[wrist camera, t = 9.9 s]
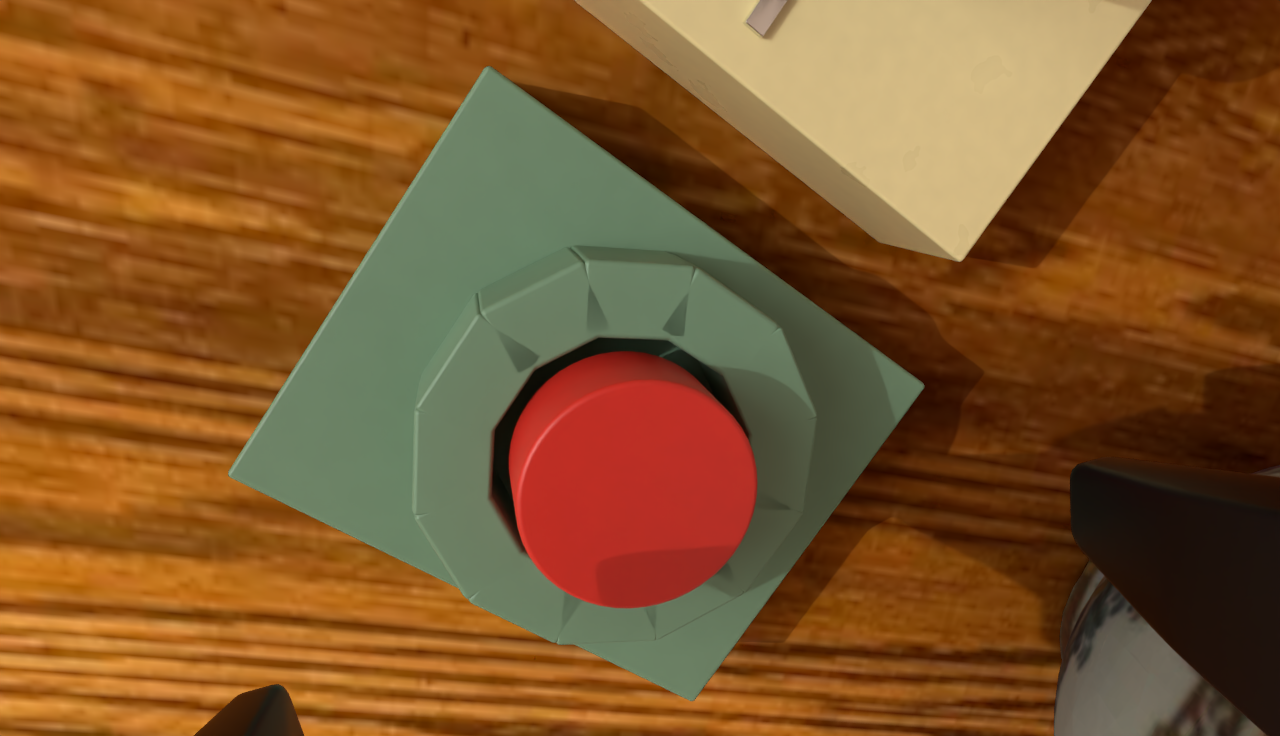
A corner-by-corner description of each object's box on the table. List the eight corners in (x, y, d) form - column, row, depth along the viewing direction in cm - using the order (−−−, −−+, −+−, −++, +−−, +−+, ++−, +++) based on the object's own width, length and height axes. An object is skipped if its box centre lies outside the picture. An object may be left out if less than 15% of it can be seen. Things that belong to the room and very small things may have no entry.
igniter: (256, 431, 16) (191, 525, 12) (483, 73, 15) (491, 51, 11) (667, 641, 19) (720, 767, 15) (873, 357, 18) (984, 415, 14)
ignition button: (464, 493, 13) (465, 545, 11) (590, 307, 13) (610, 332, 11) (644, 588, 14) (668, 647, 12) (764, 420, 14) (805, 458, 12)
